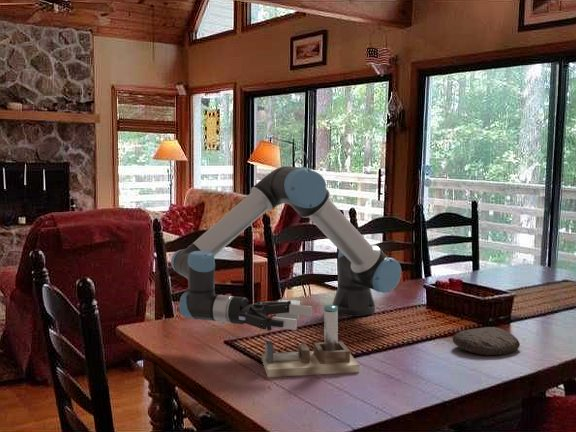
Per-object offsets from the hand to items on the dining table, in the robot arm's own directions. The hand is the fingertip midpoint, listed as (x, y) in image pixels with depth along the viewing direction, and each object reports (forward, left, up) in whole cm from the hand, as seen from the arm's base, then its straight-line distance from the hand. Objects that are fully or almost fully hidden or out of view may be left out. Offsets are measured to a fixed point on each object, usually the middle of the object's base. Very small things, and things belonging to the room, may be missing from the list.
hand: (304, 317), depth 164 cm
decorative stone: (-55, -3, -13) cm, 56 cm away
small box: (-3, -43, -13) cm, 45 cm away
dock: (-1, +4, -12) cm, 13 cm away
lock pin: (+7, +4, -10) cm, 13 cm away
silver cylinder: (-7, +4, -10) cm, 13 cm away
